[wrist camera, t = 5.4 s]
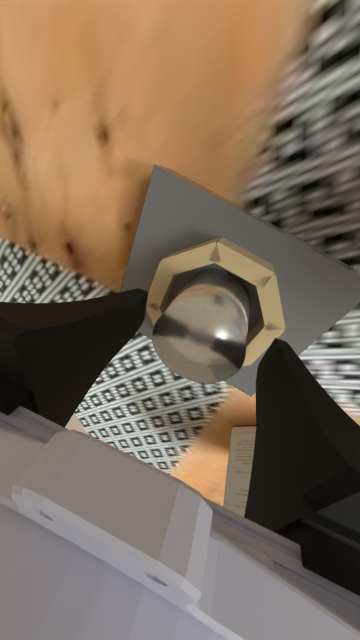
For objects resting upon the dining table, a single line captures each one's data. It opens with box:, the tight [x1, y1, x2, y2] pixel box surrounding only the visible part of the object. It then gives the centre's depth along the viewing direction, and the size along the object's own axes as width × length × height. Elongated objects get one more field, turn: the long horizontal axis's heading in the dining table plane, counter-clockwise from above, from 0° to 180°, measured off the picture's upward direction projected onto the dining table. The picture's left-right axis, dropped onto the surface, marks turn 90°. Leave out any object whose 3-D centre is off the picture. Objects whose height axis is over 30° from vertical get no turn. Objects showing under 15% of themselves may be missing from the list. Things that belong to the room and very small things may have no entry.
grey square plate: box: [120, 165, 360, 396], centre depth 14 cm, size 13×11×4 cm
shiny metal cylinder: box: [152, 269, 250, 383], centre depth 12 cm, size 4×4×5 cm
